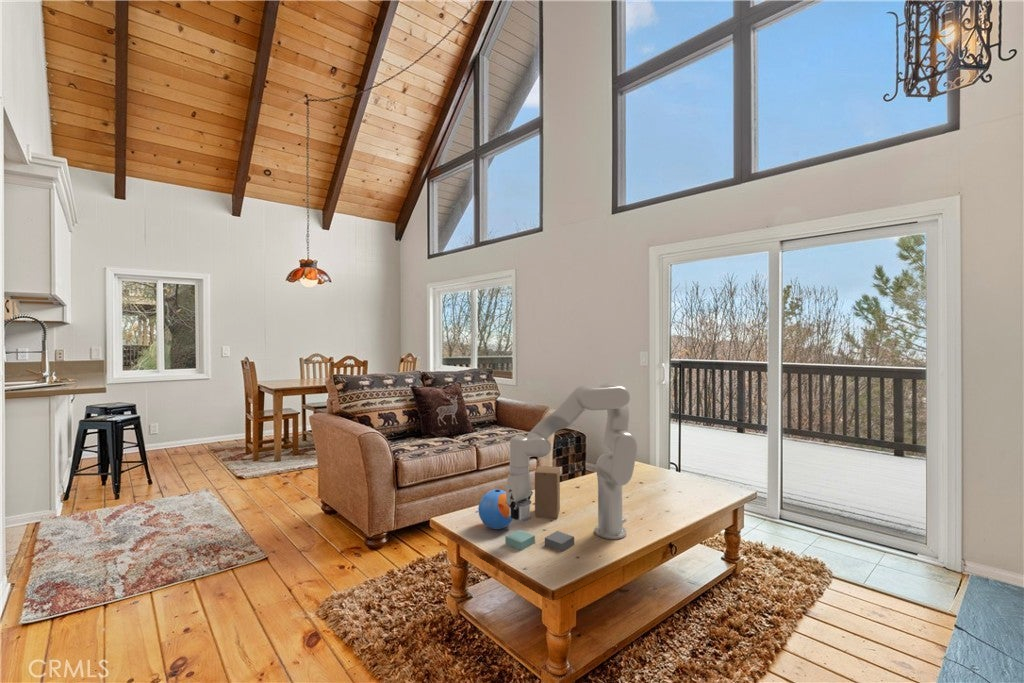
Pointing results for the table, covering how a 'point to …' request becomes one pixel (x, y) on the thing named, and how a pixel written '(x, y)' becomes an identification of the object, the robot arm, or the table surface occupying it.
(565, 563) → the table surface
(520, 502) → the housing
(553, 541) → the stand
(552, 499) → the wooden block
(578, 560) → the table surface
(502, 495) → the treat dispenser ball
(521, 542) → the stand
